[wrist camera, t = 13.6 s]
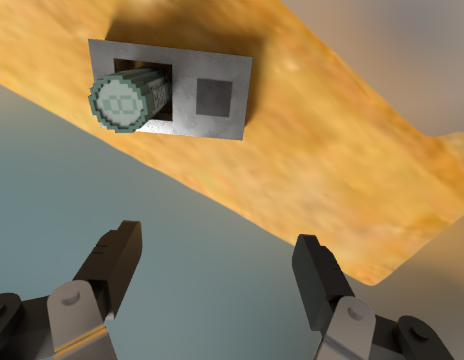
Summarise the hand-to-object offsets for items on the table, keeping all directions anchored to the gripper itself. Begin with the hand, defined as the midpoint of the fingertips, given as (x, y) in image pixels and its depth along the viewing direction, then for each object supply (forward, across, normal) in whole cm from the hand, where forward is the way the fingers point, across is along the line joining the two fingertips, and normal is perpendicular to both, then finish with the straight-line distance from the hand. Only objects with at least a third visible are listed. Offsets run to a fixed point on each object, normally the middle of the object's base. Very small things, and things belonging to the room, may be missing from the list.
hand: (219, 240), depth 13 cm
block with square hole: (+33, +8, -2) cm, 34 cm away
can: (+33, +12, -2) cm, 35 cm away
